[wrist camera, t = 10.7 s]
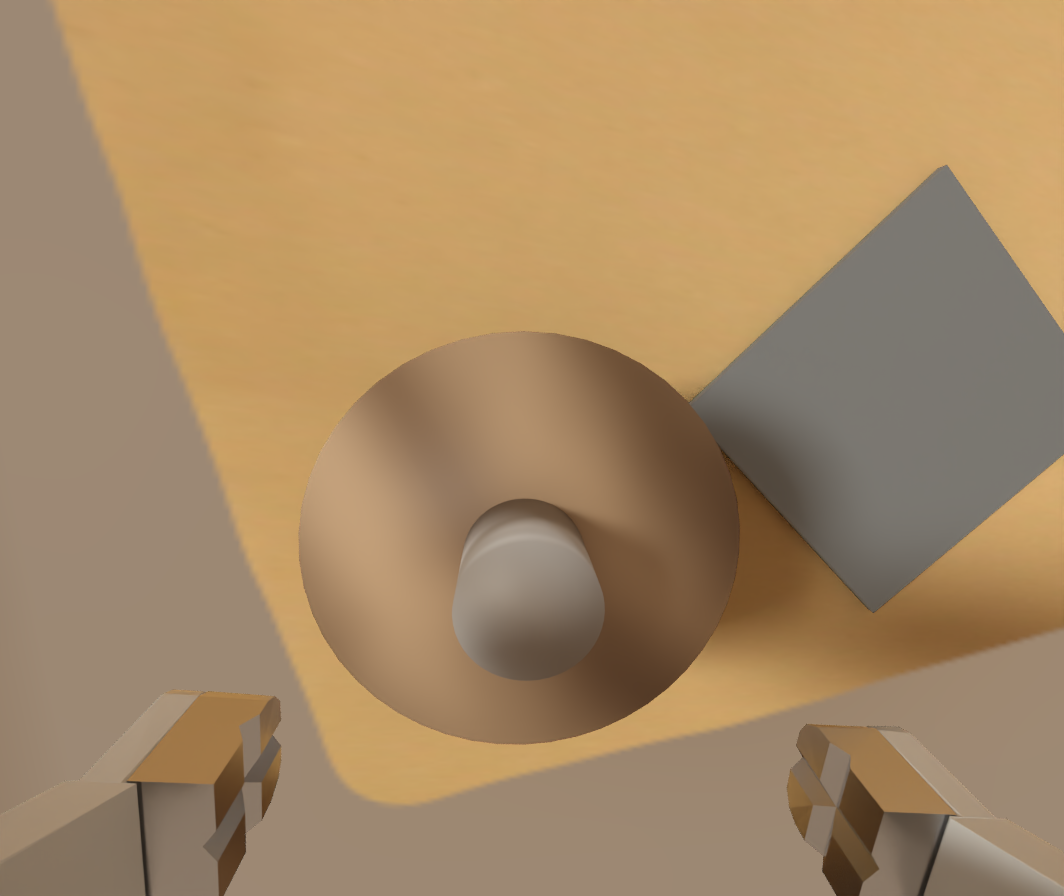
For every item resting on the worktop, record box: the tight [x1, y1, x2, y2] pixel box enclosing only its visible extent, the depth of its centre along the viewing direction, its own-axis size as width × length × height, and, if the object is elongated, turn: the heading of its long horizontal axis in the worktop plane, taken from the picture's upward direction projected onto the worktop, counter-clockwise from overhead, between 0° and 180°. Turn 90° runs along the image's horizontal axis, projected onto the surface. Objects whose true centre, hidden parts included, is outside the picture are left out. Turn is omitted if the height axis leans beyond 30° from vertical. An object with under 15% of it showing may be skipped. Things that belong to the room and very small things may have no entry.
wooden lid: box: [299, 331, 740, 744], centre depth 14 cm, size 13×13×4 cm
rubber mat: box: [689, 165, 1064, 613], centre depth 26 cm, size 16×16×1 cm
